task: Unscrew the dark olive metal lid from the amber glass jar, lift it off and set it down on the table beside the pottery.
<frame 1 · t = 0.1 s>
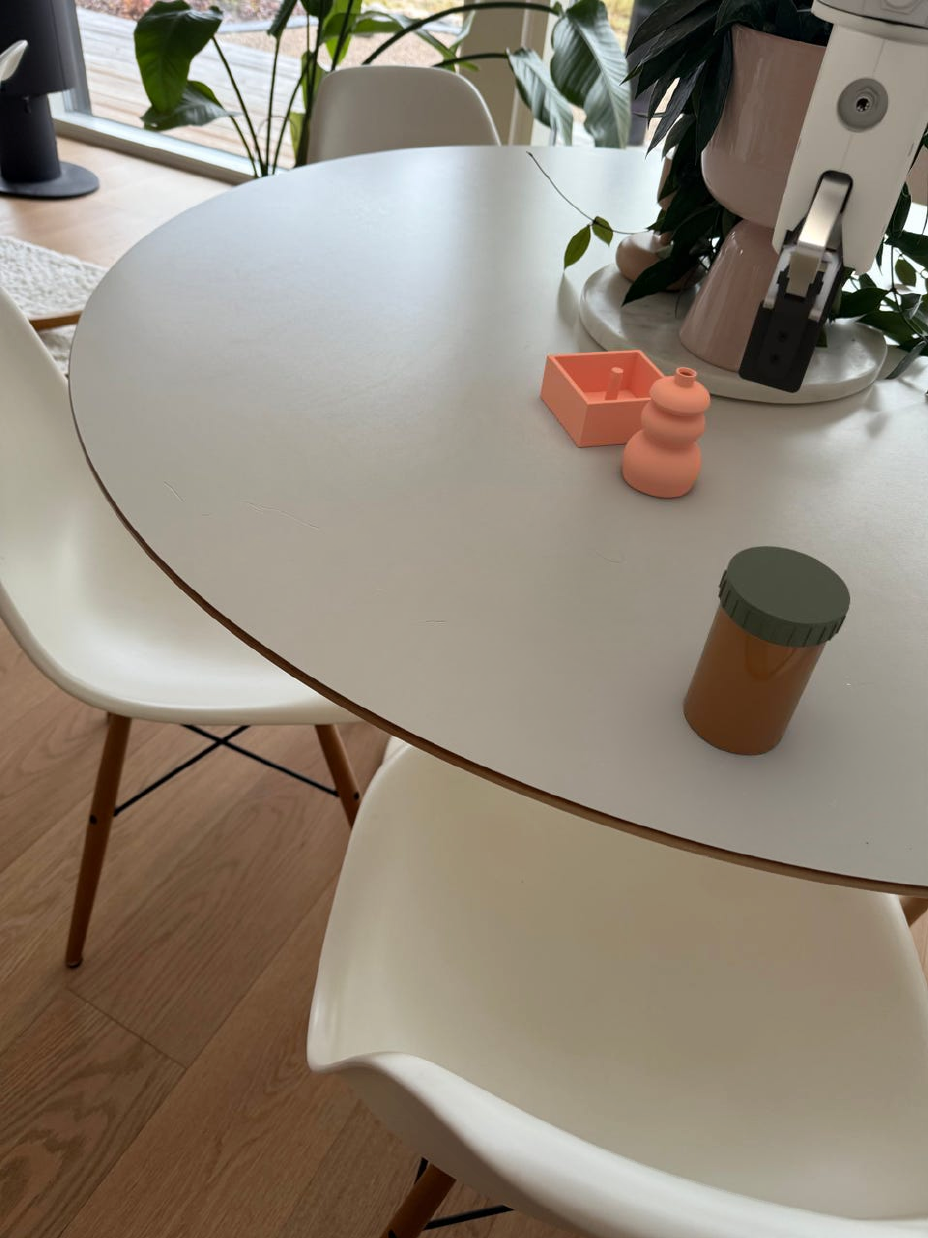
hand: (783, 348, 55), 22 cm above the table, tool pointing down, fingers open, 9 cm apart
pottery: (626, 444, 89), on the table
lid: (786, 587, 57), point 11 cm above the table, screwed on, not yet turned
jar: (733, 717, 64), on the table
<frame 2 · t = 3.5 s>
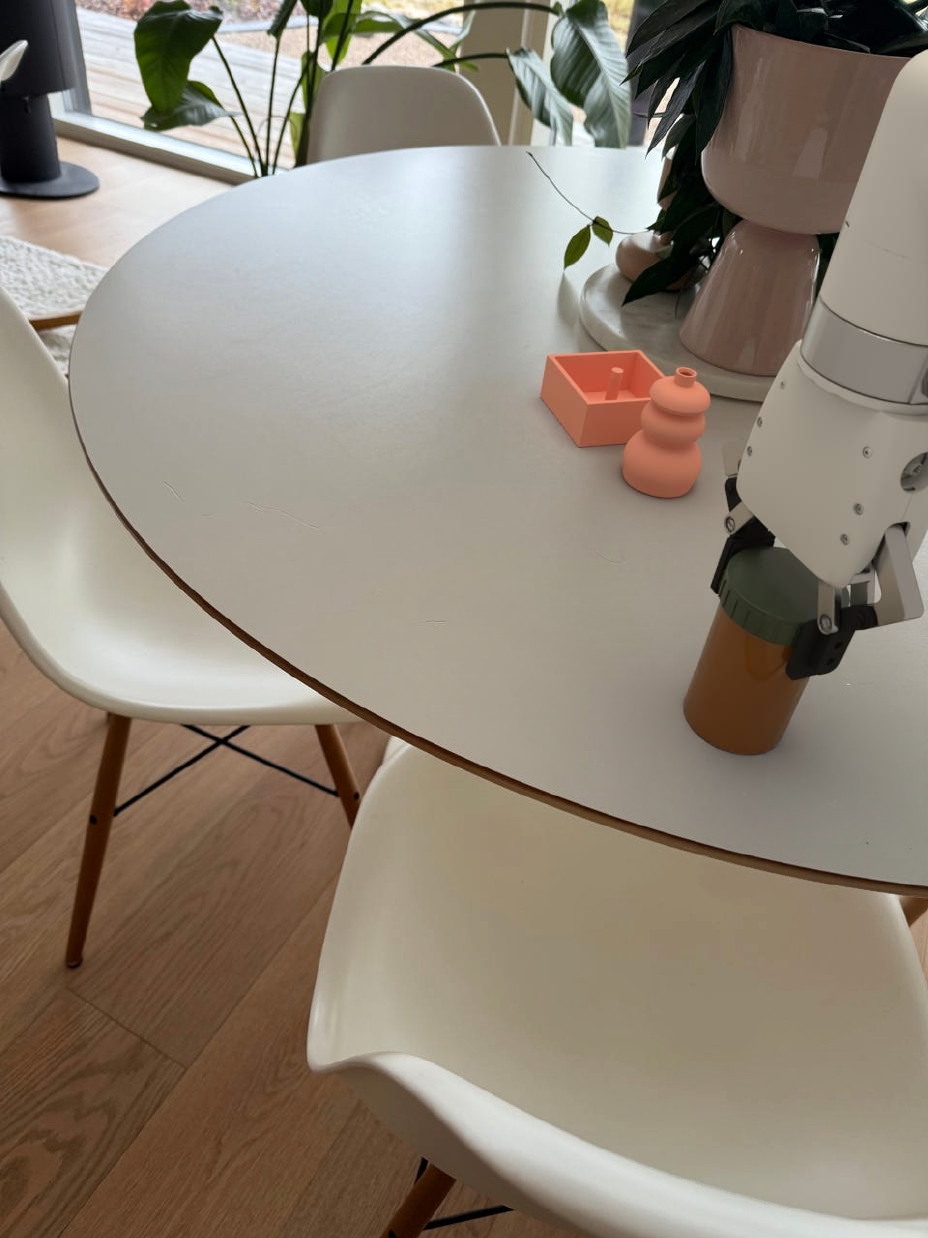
hand: (769, 627, 59), 8 cm above the table, tool pointing down, fingers closed on lid, 7 cm apart
lid: (786, 586, 57), point 11 cm above the table, screwed on, not yet turned, touching gripper
everything else where it was.
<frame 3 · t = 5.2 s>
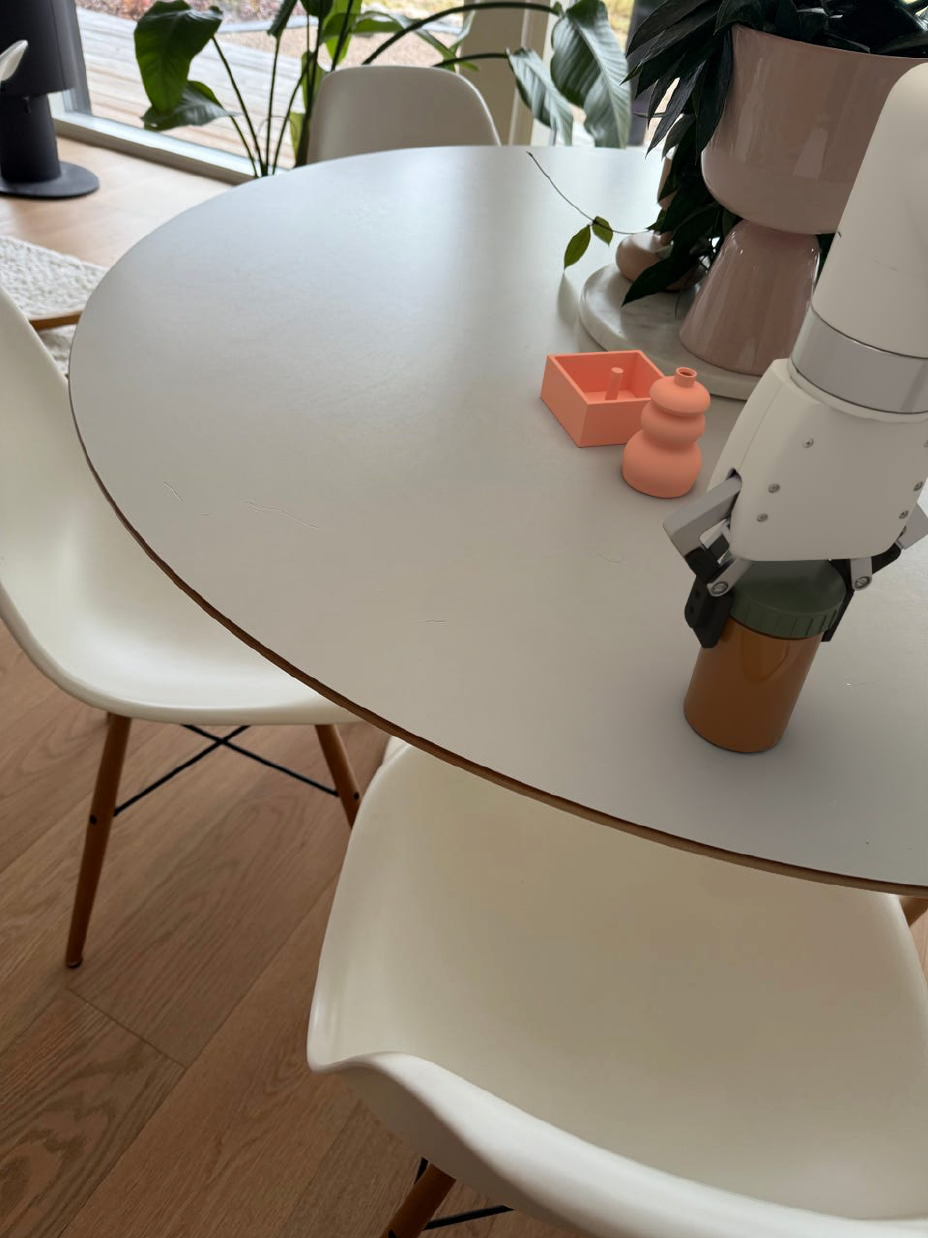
hand: (757, 627, 60), 7 cm above the table, tool pointing down, fingers closed on lid, 6 cm apart
lid: (781, 578, 57), point 11 cm above the table, turned 81° so far, risen 0.2 cm, still on its thread, touching gripper
jar: (733, 715, 64), on the table, touching gripper
everything else where it was.
when the fingers open (7 cm above the table, at t = 5.6 s): lid stays where it is, point 11 cm above the table.
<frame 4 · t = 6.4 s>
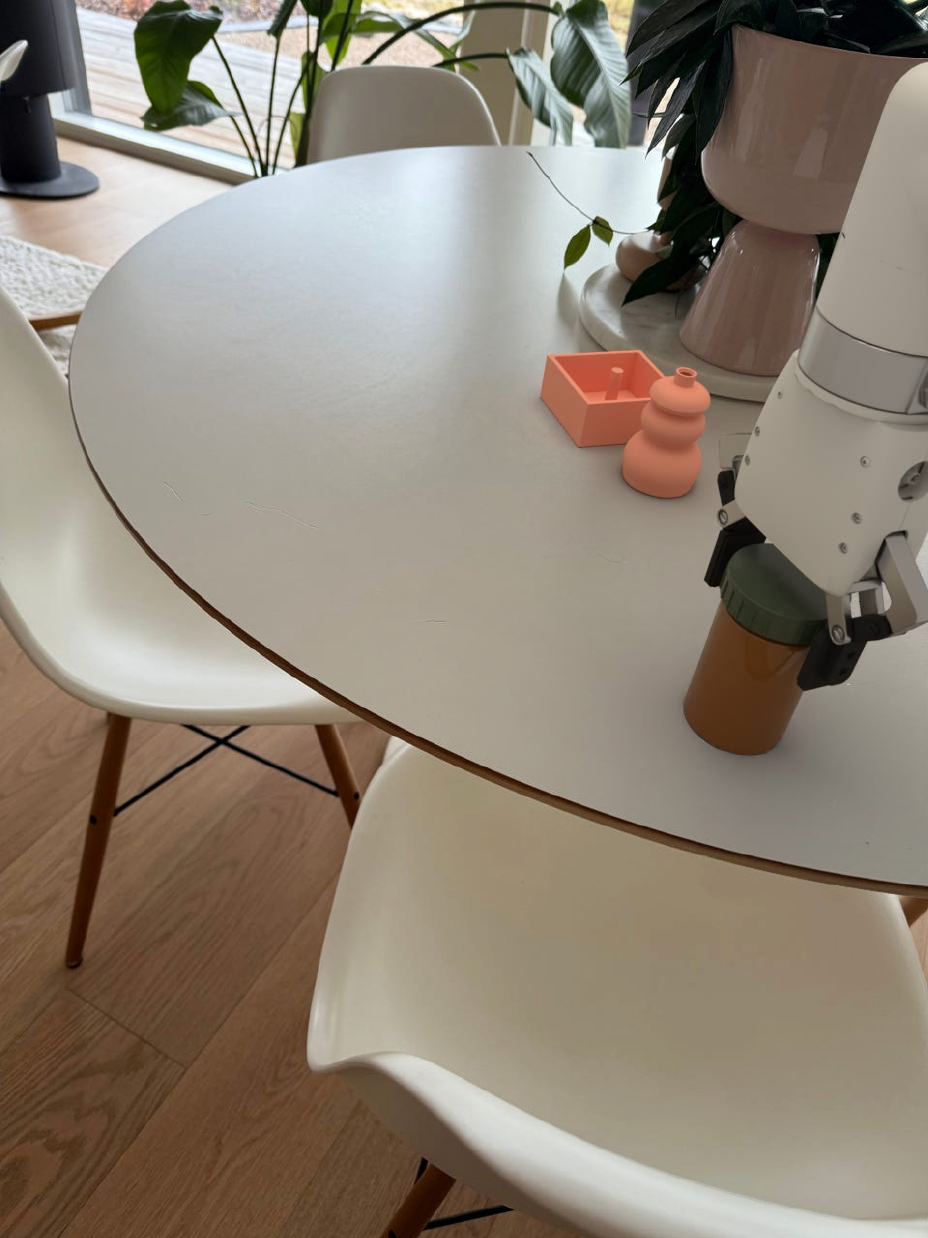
hand: (771, 629, 59), 8 cm above the table, tool pointing down, fingers open, 8 cm apart
lid: (788, 583, 57), point 11 cm above the table, turned 81° so far, risen 0.2 cm, still on its thread
jar: (733, 717, 64), on the table
everything else where it was.
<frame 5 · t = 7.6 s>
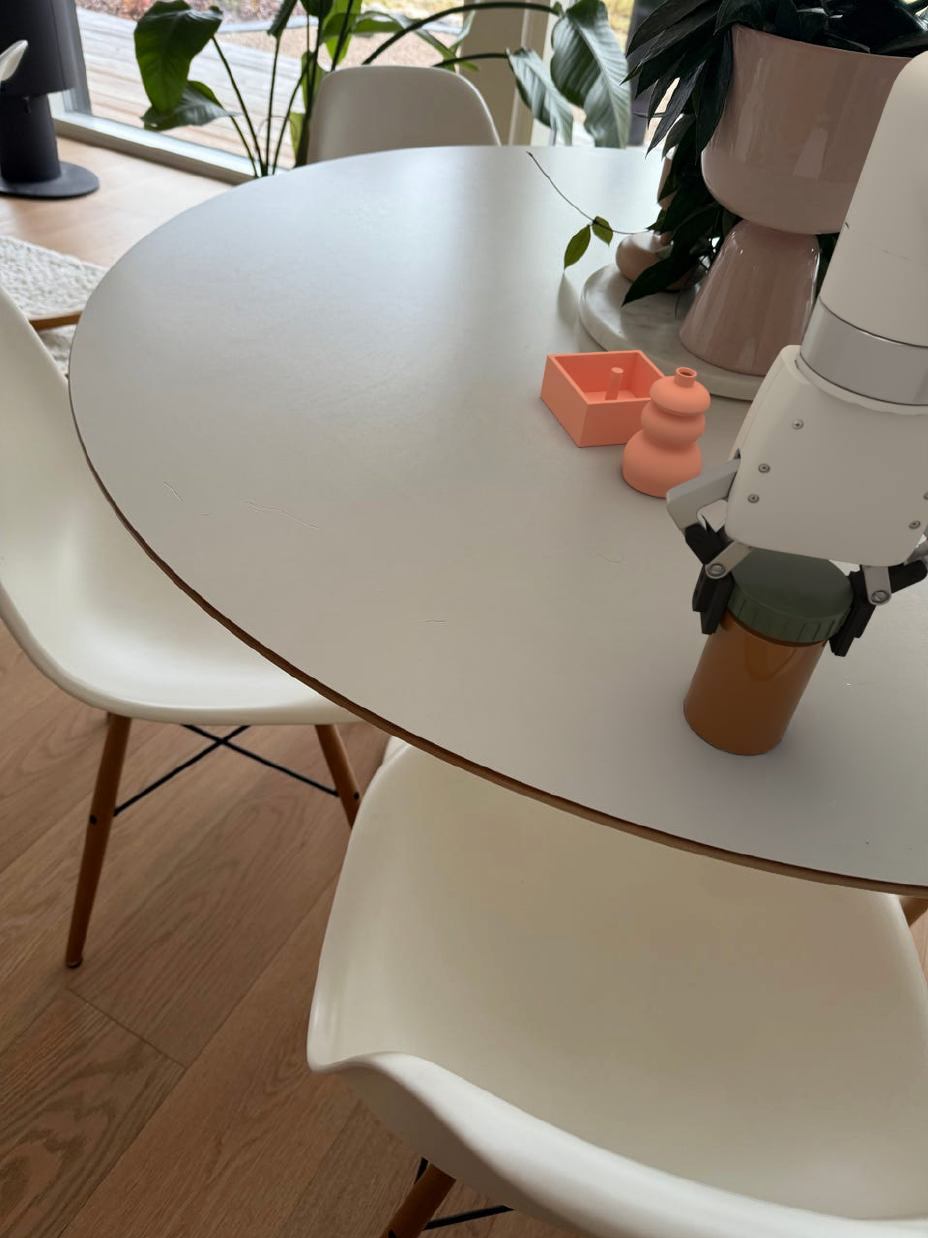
hand: (770, 628, 59), 8 cm above the table, tool pointing down, fingers closed on lid, 7 cm apart
lid: (789, 582, 57), point 11 cm above the table, turned 140° so far, risen 0.4 cm, still on its thread, touching gripper
everything else where it was.
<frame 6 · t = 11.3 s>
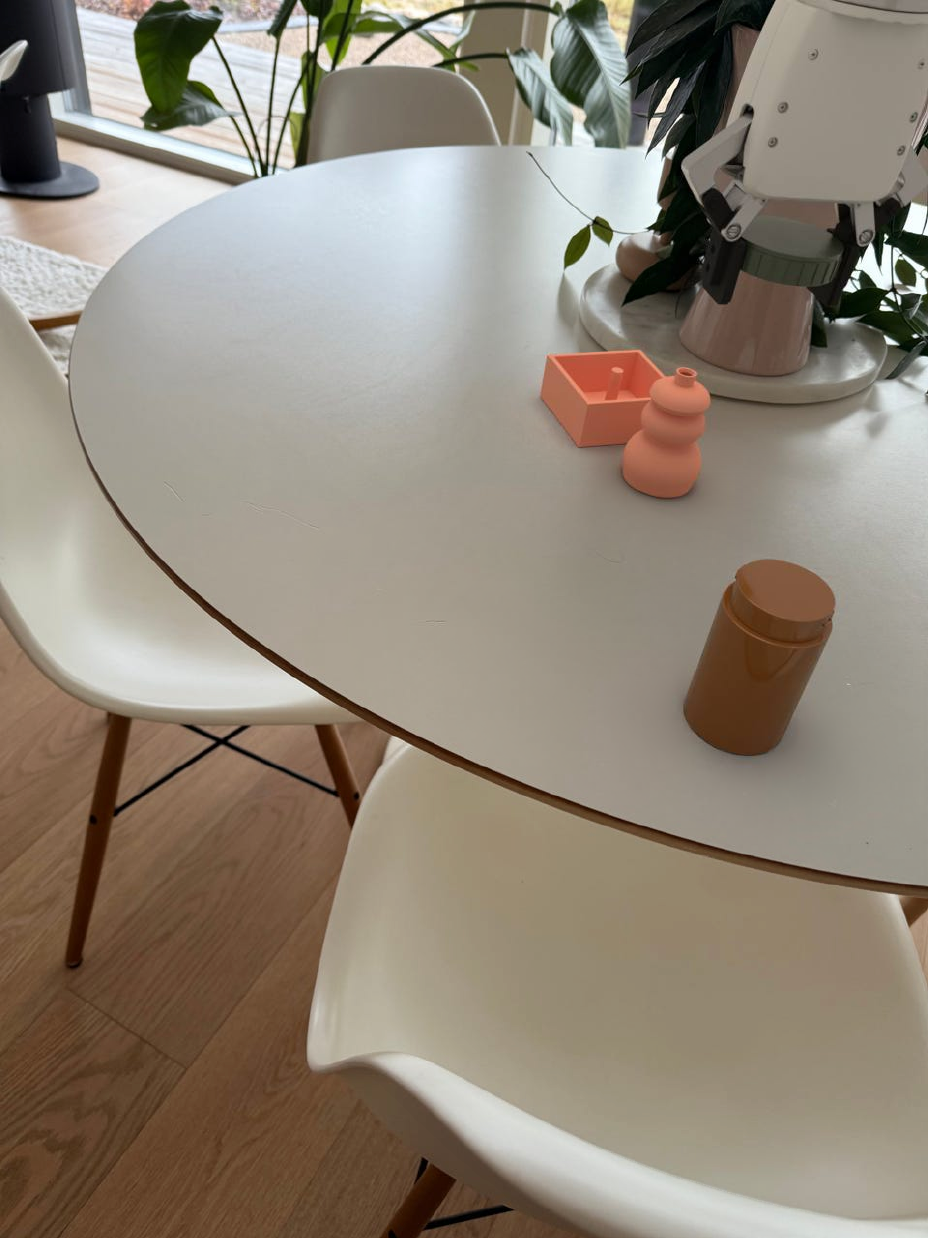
hand: (768, 294, 65), 20 cm above the table, tool pointing down, fingers closed on lid, 7 cm apart
lid: (786, 240, 63), point 24 cm above the table, off its thread, touching gripper
everything else where it was.
when the fingers open (1 cm above the table, at t = 15.7 s): lid drops 3 cm, point 1 cm above the table.
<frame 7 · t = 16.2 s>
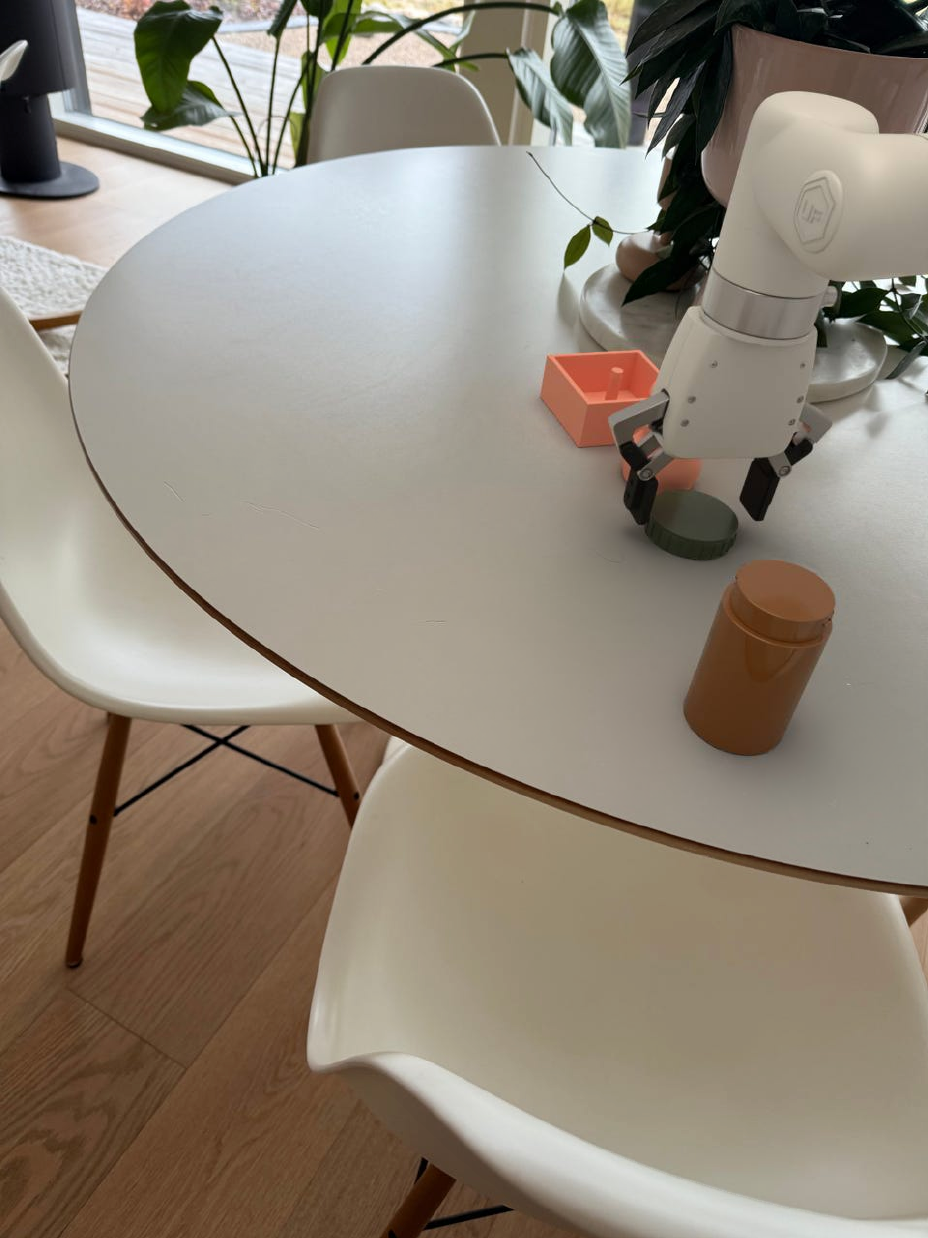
hand: (693, 512, 78), 2 cm above the table, tool pointing down, fingers open, 9 cm apart
lid: (693, 517, 78), point 1 cm above the table, off its thread
everything else where it was.
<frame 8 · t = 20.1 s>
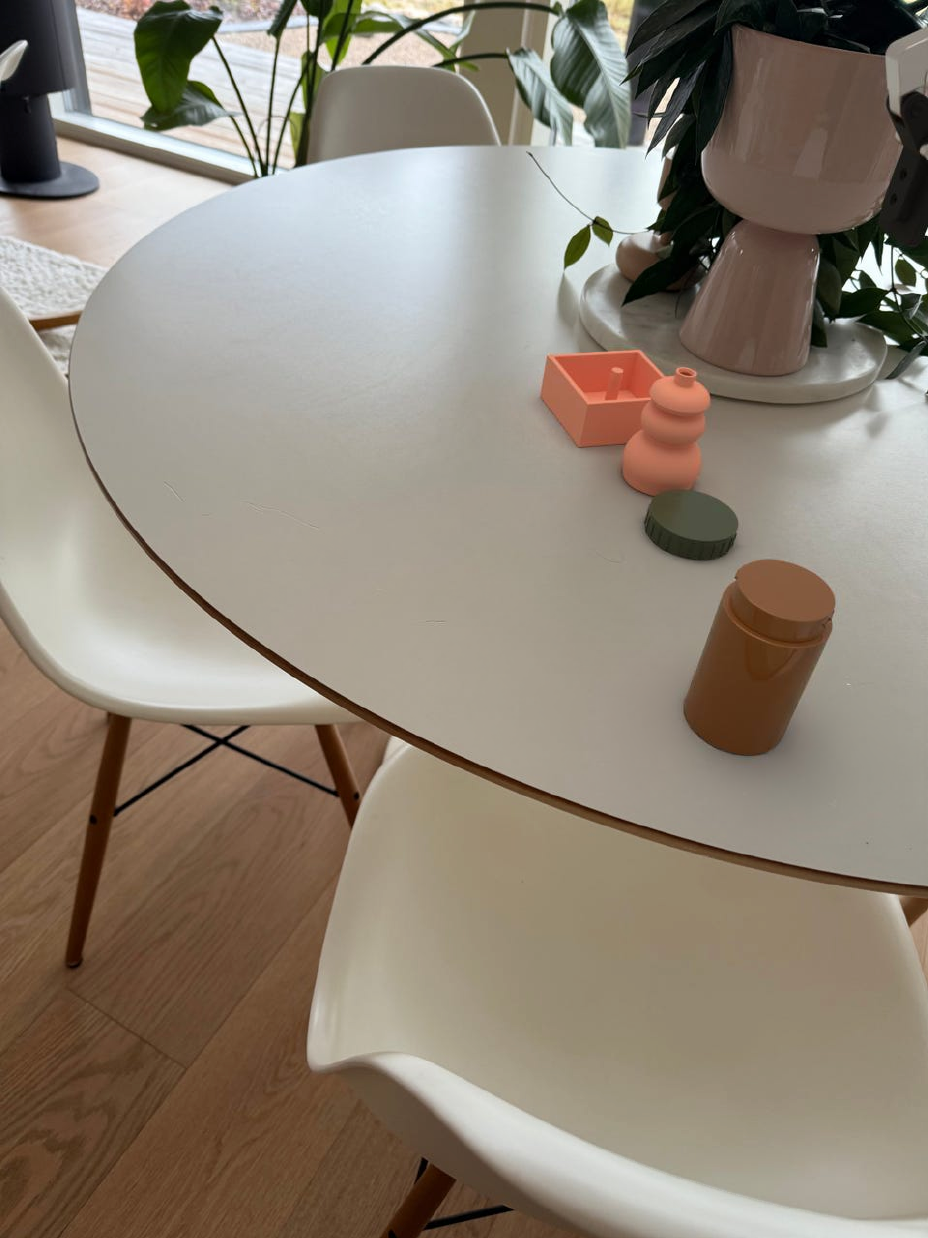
nothing on the table moved.
at the end: the gripper is holding nothing; lid point 1.5 cm above the table; lid 13.5 cm from the pottery (horizontally) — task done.
